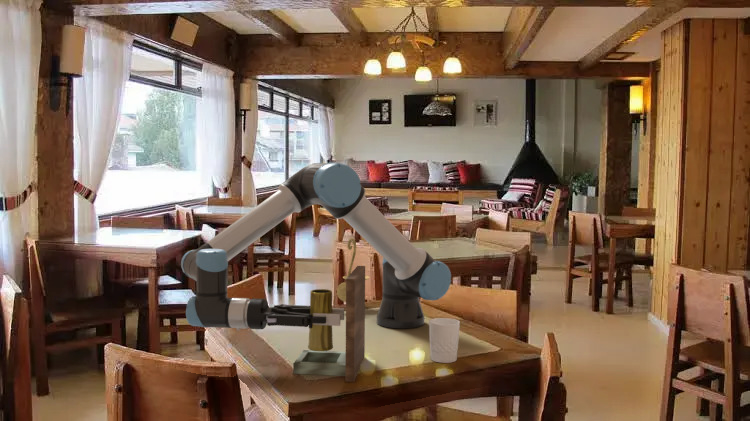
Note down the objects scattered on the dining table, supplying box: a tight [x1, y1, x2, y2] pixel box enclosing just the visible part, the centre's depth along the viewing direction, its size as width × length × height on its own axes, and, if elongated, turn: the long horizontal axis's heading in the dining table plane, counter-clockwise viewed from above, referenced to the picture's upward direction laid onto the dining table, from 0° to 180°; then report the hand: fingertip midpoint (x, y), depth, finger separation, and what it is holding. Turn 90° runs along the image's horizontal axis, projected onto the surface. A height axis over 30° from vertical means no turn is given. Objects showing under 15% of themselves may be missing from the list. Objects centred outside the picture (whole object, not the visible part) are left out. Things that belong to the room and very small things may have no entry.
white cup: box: [428, 317, 461, 364], centre depth 167 cm, size 8×8×10 cm
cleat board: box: [292, 265, 366, 383], centre depth 159 cm, size 15×20×24 cm
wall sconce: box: [336, 237, 370, 303], centre depth 227 cm, size 14×10×25 cm
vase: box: [307, 288, 334, 351], centre depth 159 cm, size 6×6×14 cm
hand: (341, 317), depth 158 cm, fingers closed on vase, 5 cm apart
